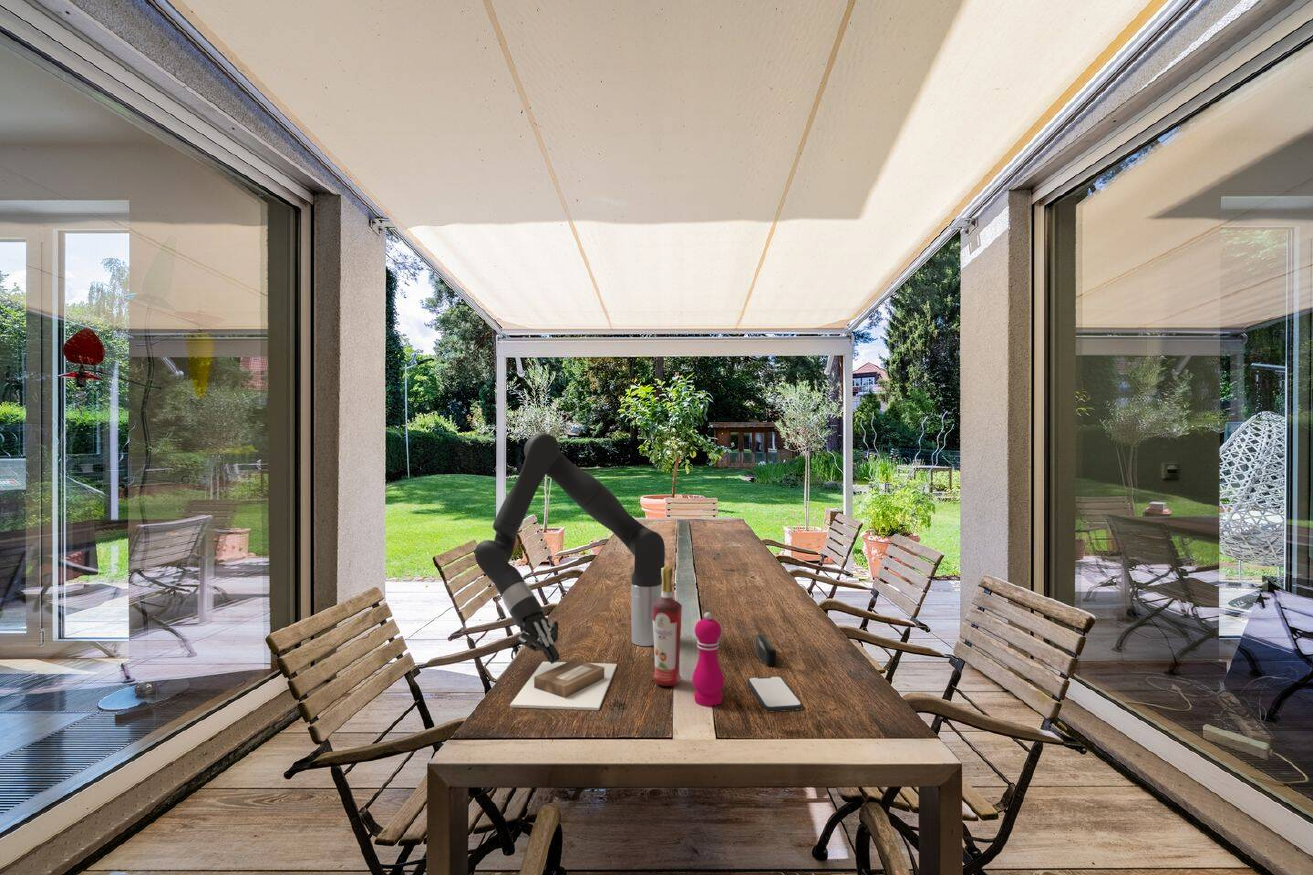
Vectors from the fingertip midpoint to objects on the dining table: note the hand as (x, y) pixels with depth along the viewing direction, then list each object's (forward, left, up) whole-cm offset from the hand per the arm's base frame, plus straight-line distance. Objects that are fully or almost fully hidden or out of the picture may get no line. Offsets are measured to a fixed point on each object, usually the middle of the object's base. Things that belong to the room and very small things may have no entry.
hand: (555, 660), depth 143 cm
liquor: (-28, -1, -5) cm, 28 cm away
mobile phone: (-53, -21, -5) cm, 57 cm away
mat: (-4, +2, -5) cm, 6 cm away
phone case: (-53, +4, -5) cm, 53 cm away
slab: (0, 0, -3) cm, 3 cm away
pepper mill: (-38, +8, -5) cm, 39 cm away
